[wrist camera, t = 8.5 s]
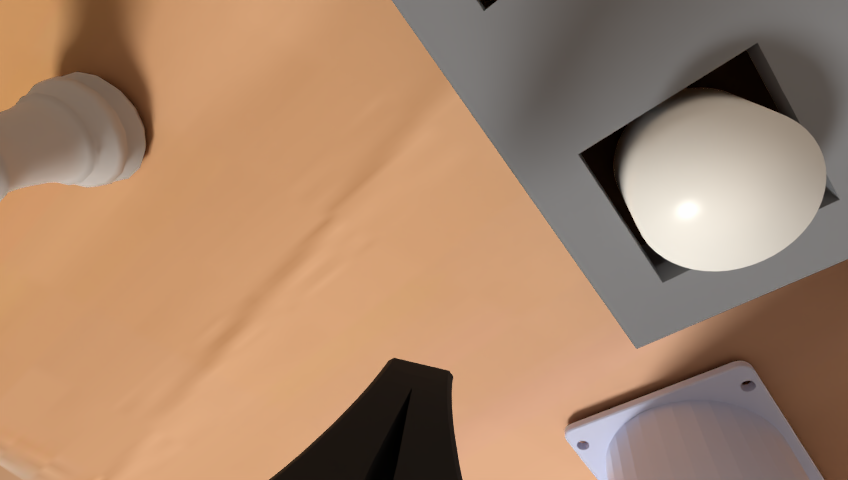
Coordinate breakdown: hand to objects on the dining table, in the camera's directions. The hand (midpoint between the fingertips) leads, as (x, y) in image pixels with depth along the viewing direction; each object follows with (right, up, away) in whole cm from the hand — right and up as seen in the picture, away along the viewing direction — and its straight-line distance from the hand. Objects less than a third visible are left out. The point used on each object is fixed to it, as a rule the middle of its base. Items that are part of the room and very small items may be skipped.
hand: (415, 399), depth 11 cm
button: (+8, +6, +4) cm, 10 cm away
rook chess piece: (-13, +8, +10) cm, 18 cm away
